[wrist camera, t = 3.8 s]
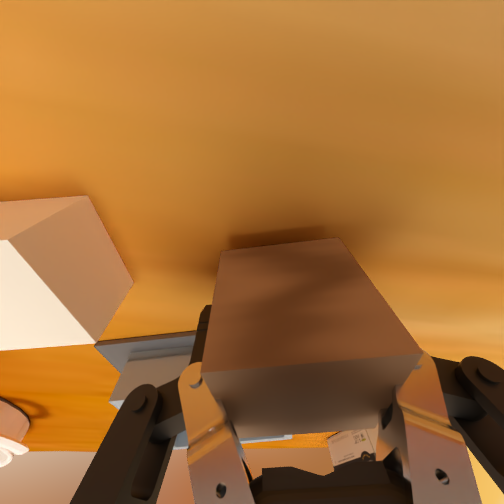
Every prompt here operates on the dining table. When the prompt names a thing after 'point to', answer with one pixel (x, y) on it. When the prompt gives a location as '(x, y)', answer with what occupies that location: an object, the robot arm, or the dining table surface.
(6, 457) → the pan
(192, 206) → the dining table surface
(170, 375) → the grey shallow box
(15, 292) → the cream block
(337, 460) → the tea box
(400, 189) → the dining table surface
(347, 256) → the walnut block
